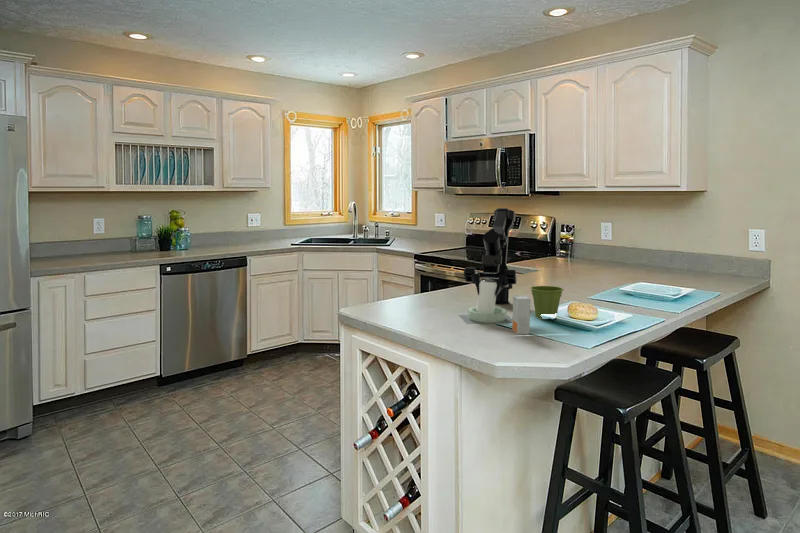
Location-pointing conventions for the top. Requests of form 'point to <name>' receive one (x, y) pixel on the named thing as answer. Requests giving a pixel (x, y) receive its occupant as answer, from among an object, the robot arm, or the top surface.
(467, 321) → the slate mat
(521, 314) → the skincare box
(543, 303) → the plant pot
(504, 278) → the robot arm
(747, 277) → the top surface
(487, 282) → the can
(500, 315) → the bowl
